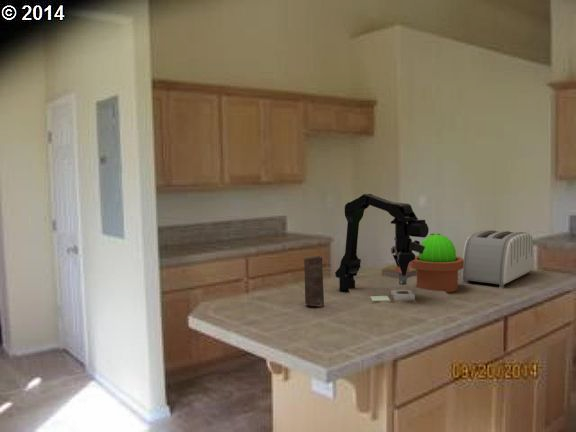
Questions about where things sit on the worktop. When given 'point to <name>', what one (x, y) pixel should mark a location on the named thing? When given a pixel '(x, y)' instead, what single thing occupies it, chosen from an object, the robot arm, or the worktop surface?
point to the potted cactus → (438, 264)
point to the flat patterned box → (392, 272)
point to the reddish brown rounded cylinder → (402, 278)
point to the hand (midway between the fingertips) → (402, 274)
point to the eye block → (402, 295)
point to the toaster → (497, 257)
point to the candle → (314, 281)
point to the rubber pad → (379, 298)
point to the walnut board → (389, 301)
